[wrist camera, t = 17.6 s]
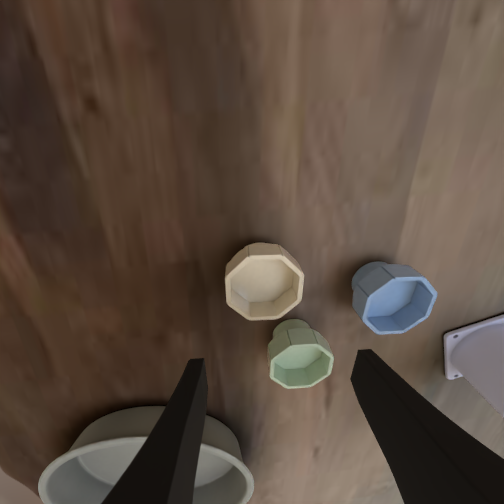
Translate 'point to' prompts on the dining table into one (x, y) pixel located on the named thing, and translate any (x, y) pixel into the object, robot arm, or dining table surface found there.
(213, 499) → the cake pan
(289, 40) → the dining table surface
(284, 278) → the ivory bowl
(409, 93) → the dining table surface
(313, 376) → the celadon bowl
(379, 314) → the blue bowl
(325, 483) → the dining table surface
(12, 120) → the dining table surface
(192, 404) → the robot arm
